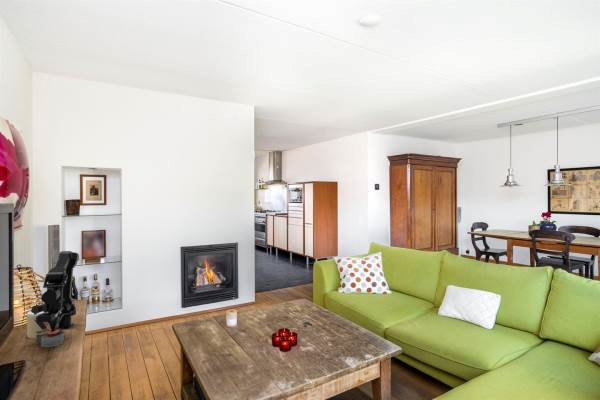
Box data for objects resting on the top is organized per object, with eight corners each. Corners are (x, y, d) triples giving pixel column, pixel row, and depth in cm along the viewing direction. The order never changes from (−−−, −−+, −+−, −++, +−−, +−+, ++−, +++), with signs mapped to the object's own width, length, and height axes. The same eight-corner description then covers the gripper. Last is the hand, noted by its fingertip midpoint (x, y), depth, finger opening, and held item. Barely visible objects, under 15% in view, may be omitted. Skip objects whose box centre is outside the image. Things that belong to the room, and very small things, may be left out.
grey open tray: (41, 340, 157) (42, 331, 157) (66, 339, 159) (67, 330, 159) (31, 348, 149) (31, 338, 149) (57, 347, 151) (58, 337, 151)
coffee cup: (35, 340, 157) (37, 315, 157) (20, 337, 159) (21, 313, 159) (53, 332, 166) (55, 309, 166) (39, 330, 168) (40, 307, 168)
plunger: (49, 339, 156) (50, 328, 156) (60, 339, 157) (60, 328, 157) (44, 343, 151) (45, 332, 152) (55, 343, 152) (55, 332, 152)
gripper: (47, 292, 162) (45, 323, 162) (23, 303, 144) (20, 339, 143) (72, 292, 164) (70, 323, 164) (51, 303, 146) (49, 338, 146)
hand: (53, 330), depth 154 cm, fingers closed, pressing on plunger
